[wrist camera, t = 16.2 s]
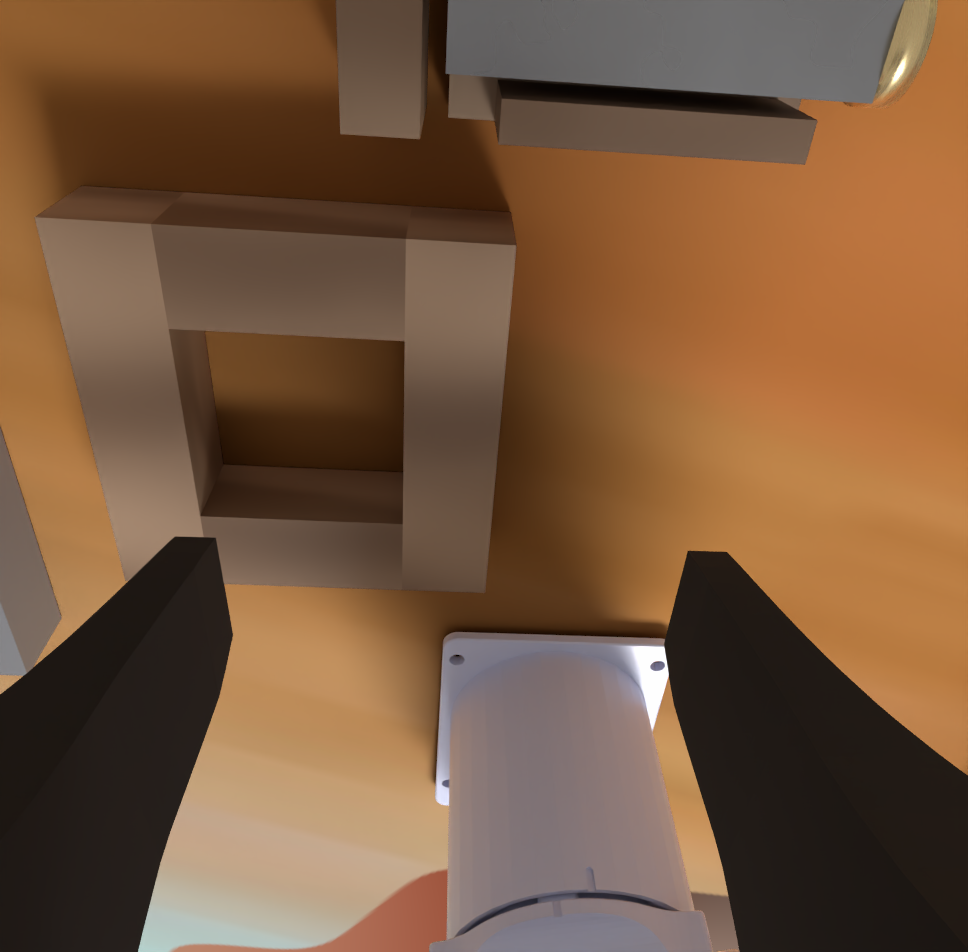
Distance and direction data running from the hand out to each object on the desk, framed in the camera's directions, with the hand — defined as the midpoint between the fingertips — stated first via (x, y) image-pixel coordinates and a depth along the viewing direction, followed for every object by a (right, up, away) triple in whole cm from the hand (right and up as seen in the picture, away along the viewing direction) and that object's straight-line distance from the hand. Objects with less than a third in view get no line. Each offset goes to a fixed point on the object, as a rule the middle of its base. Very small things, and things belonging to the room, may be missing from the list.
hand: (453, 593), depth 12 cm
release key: (+4, +11, +4) cm, 12 cm away
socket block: (-4, +4, +10) cm, 11 cm away
